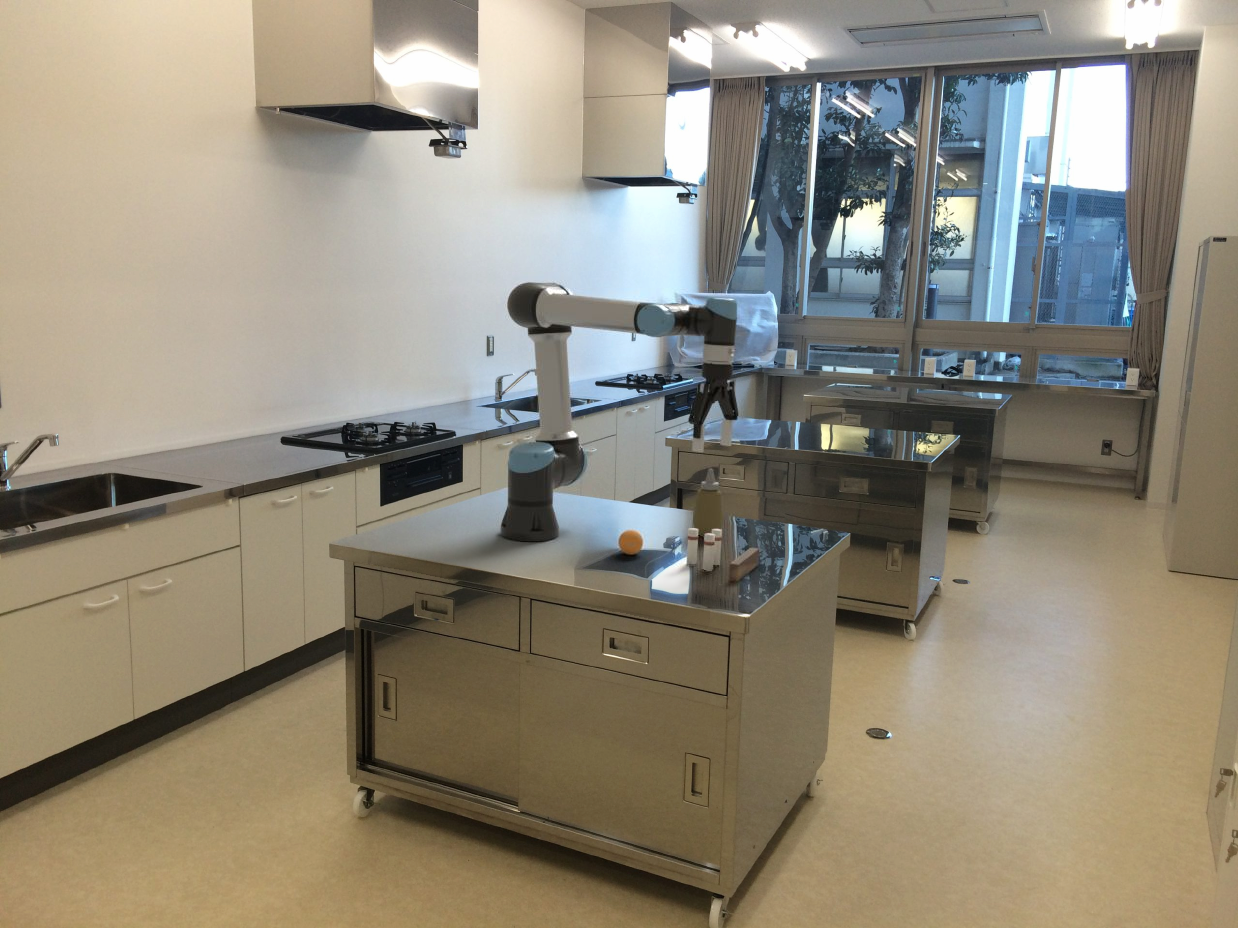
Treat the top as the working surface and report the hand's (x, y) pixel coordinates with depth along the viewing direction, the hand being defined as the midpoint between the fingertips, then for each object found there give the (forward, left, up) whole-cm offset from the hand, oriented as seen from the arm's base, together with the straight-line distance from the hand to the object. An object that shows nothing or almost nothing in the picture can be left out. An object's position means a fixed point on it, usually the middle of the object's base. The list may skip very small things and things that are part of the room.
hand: (712, 448), depth 241 cm
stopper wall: (+14, -14, -26) cm, 33 cm away
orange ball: (-15, -14, -23) cm, 31 cm away
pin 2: (+6, -12, -26) cm, 29 cm away
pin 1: (+6, -17, -26) cm, 31 cm away
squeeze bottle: (-5, +14, -26) cm, 30 cm away
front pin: (+1, -14, -26) cm, 29 cm away
